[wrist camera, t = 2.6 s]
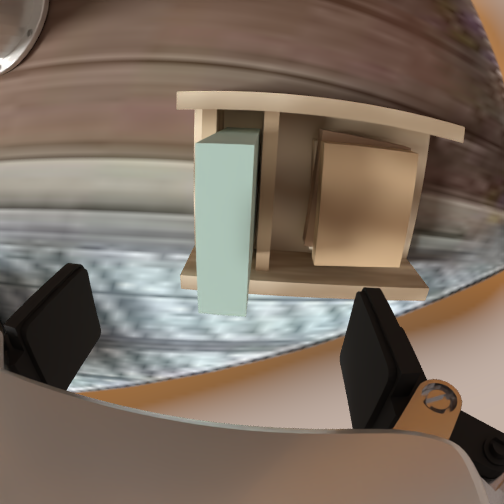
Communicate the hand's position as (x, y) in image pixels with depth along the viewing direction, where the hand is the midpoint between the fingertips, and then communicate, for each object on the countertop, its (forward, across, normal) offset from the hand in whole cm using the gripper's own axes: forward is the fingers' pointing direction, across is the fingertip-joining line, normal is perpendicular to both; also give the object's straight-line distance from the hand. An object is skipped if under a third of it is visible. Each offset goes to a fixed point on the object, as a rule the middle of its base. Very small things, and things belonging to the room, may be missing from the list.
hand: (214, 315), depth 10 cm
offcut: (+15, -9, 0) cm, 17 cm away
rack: (+19, -5, -1) cm, 20 cm away
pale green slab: (+18, +1, 0) cm, 18 cm away
